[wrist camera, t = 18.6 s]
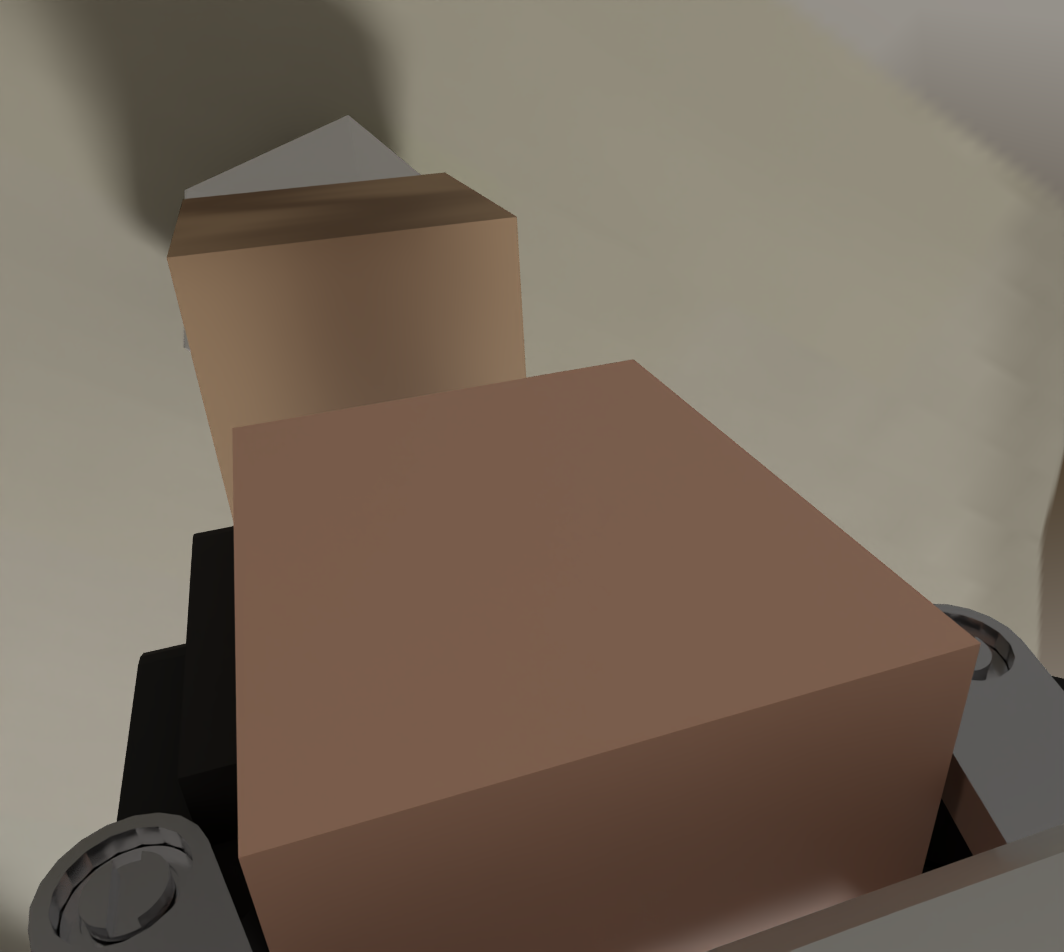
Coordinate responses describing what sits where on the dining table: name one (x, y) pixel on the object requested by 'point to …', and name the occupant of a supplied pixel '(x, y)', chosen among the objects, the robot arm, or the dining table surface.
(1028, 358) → the dining table surface
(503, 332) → the block walnut
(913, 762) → the block terracotta
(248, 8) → the dining table surface
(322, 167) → the die
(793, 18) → the dining table surface
